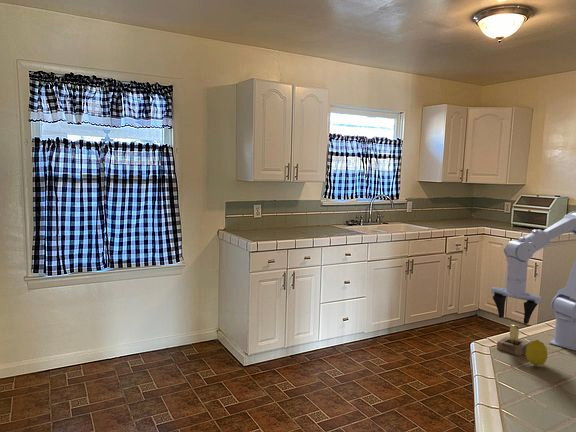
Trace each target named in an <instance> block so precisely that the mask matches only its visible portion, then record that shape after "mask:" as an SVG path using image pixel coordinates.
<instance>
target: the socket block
mask: <svg viewBox="0 0 576 432" xmlns="http://www.w3.org/2000/svg"><path fill="white" fill-rule="evenodd" d="M529 343H530V342H529V341H524V340H522V339H521V340H520V339H518V345H514V344H511V343H509V336H505V337H503V338H501V339H499V340H497V345H496V350H499V351H503V352H506V353H509V354H512V355H515V356H519V357H520V356H522V355H524V354H526V348H527V345H528V344H529Z"/></svg>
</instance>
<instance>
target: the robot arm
mask: <svg viewBox="0 0 576 432" xmlns="http://www.w3.org/2000/svg"><path fill="white" fill-rule="evenodd" d="M568 232H572V234H574V235H575V236H576V211H575V210H574V211H571V212H569V213H567V214H565V215H564V216H563V218H561V219H560V220H558V221H557V222H555V223H554V224H552V225H550V226H548V227H547V228H545V229H543V230H542V229H535V228H534V229H532V230H531V232H530V233H528V234H526V235H524V236H520V237H519V238H518V239H517V240H514V239H513V240H510V241H509V242H507V243H506V245H505V247H504V248H503V254H504V255H505V256H506V259H505V261H506V277H505V288H502V287H496V286H493V287H491V288H490V294H491V295H492V299H493V301H494V303H495V306H496V309H497V313H498V317H499V318H501V319H503V318H504V316H505V306H506V301H507V300H506V299H507V297H509V298H512V299H517V300H522V301H524V302H523V310H524V315H523V324H524V325H528V324H529V323H530V319H531V316H532V315H533V312H534V311H535V310H536V307H537V305H539V304H541V303H542V296H540V295H536V294H533V293H529V292H527V291H526V289H527V279H528V278H527V277H528V263H529V261H530V260H531V259H532V257H533V256H534V255H535V253H536V252H538V251H539V250H542V249H543V248H545V247H548V246H549V245H550V243H551V240H552V239H555V238H558V237H560V236H562V235H564V234H566V233H568ZM550 307H551V310H552V311H553V313H554V316H555V324H554V338H553V339H551V340H550V341H549V342H548V343H549V344H551V345H554V346H558V347H561V348H565V349H568V350H573V351H576V257H575V259H574V262H573V265H572V268H571V270H570V273H569V276H568V279H567V281H566V284H565V287H562V288H561V289H558V290H557V292H556V295H555V296H554V297H553V298H552V300H551V302H550Z"/></svg>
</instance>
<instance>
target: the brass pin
mask: <svg viewBox="0 0 576 432" xmlns="http://www.w3.org/2000/svg"><path fill="white" fill-rule="evenodd" d="M519 333H520V325H519V324H517V323H516V324H515V323H510V324H509V336H508V337H509V343H511V344H514V345H518V340H519Z"/></svg>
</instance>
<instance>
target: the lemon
mask: <svg viewBox="0 0 576 432" xmlns="http://www.w3.org/2000/svg"><path fill="white" fill-rule="evenodd" d="M525 357H526V360H527V361H528V362H529V363H530V364H531V365H533V367H535V368H537V367H538V366H543V365H544V364H545V363H546V362H547V359H548V349H547V347H546V345H545V344H544V342H542V341H540V340H539V339H536V340H532V341H530V342H529V344H528V345H527V348H526V352H525Z"/></svg>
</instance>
